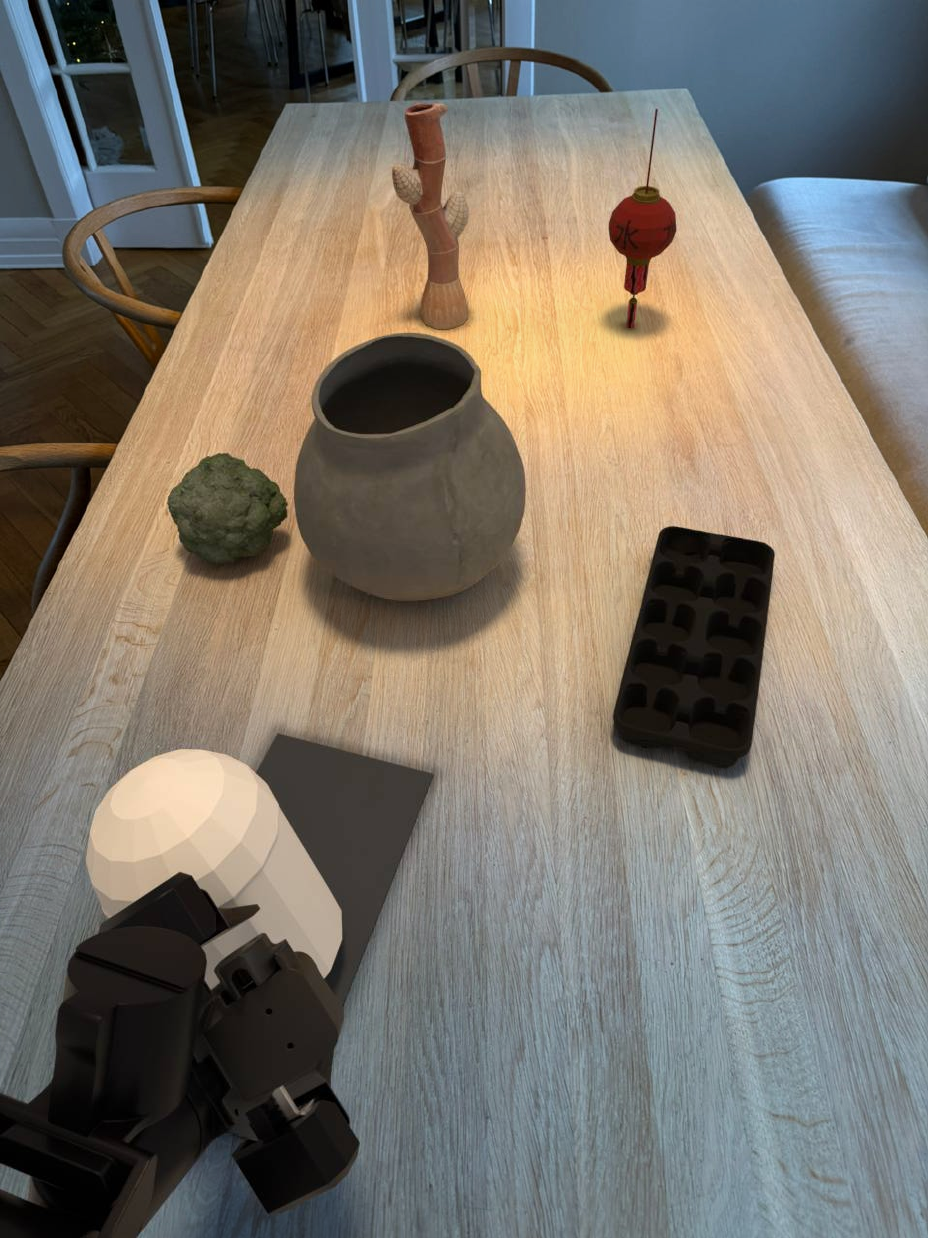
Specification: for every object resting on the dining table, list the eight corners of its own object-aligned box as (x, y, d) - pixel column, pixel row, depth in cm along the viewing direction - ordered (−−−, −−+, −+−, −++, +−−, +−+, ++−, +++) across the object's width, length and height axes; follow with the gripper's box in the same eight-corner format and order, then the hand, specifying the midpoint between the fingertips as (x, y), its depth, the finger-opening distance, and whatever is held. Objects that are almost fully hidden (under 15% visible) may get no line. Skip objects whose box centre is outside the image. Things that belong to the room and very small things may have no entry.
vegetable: (312, 481, 107) (294, 512, 94) (255, 560, 111) (230, 603, 97) (226, 420, 104) (195, 443, 90) (171, 504, 108) (132, 539, 94)
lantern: (673, 323, 133) (709, 105, 111) (639, 350, 129) (668, 128, 107) (621, 304, 138) (645, 90, 115) (586, 329, 133) (604, 111, 111)
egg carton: (610, 767, 82) (614, 744, 79) (607, 545, 102) (610, 520, 99) (805, 780, 80) (816, 757, 77) (763, 552, 100) (771, 527, 97)
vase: (469, 303, 139) (463, 92, 117) (475, 327, 134) (470, 111, 112) (402, 309, 139) (384, 98, 116) (406, 333, 134) (387, 118, 112)
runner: (285, 1153, 62) (285, 1152, 61) (89, 1079, 65) (88, 1078, 65) (433, 775, 82) (433, 773, 82) (277, 734, 85) (277, 733, 85)
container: (326, 849, 75) (229, 682, 63) (362, 981, 65) (253, 811, 53) (177, 916, 74) (48, 759, 62) (189, 1063, 63) (36, 908, 51)
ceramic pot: (268, 558, 102) (217, 368, 83) (430, 467, 112) (416, 280, 93) (399, 682, 89) (372, 490, 70) (568, 567, 99) (584, 373, 81)
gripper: (384, 1233, 40) (469, 1039, 55) (164, 882, 41) (306, 787, 56) (207, 1316, 43) (333, 1111, 58) (6, 987, 44) (181, 869, 59)
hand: (291, 969), depth 57 cm, fingers open, 9 cm apart
